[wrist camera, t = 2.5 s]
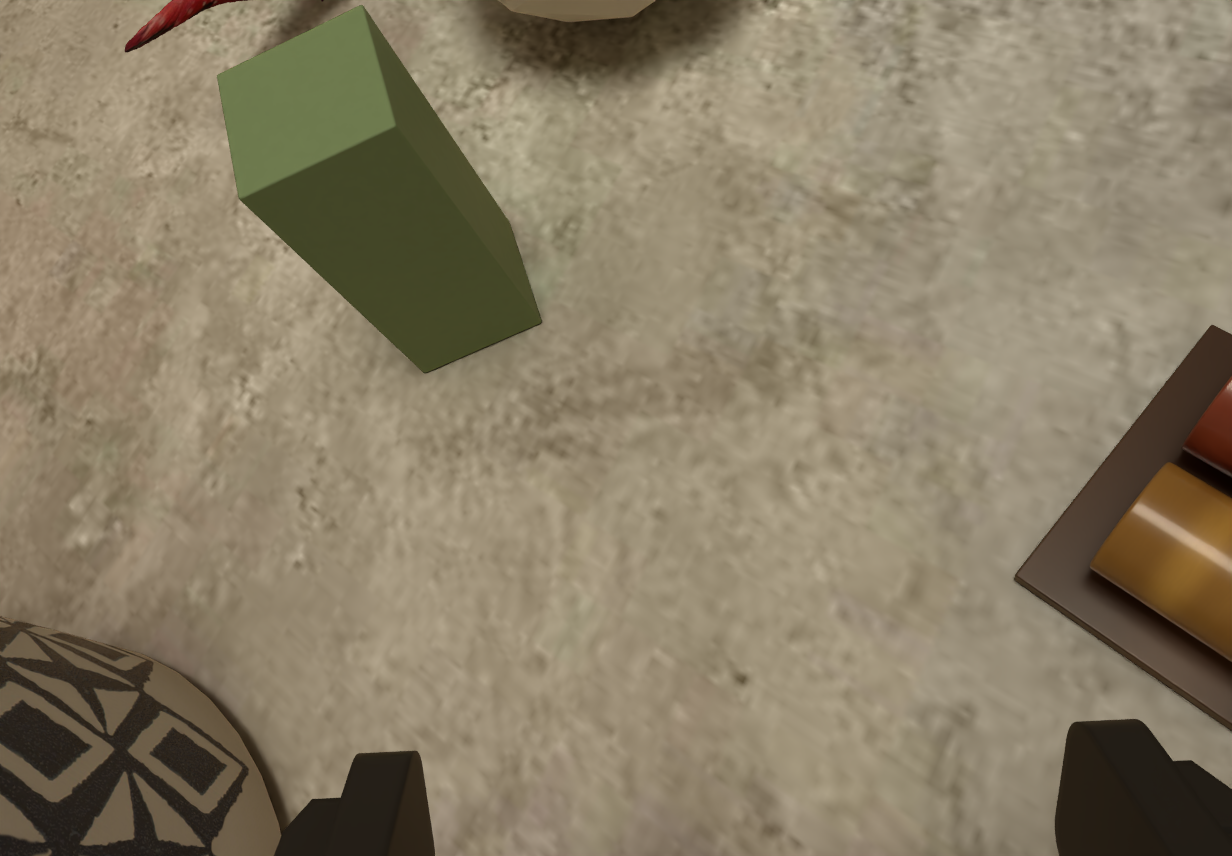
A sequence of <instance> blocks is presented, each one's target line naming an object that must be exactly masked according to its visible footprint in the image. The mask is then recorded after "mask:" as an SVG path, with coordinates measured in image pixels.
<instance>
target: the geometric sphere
mask: <svg viewBox="0 0 1232 856" xmlns="http://www.w3.org/2000/svg"><path fill="white" fill-rule="evenodd" d="M498 1H499V2H501V3H502V4H503V5H504V6H506V7H507V8H508V9H509V10H510V11H512V12H518V13H523V14H528V15H533V16H538V17H544V18H549V19H554V20H559V21H564V22H578V21H590V20H602V19H613V18H625V17H633V16H634V15H636V14H637V13H639V12H640V11H641V10H643V9H644V8H646V7H647V6H648V5H650V4H651V3H653V2H654V1H655V0H498Z"/></svg>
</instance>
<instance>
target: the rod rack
mask: <svg viewBox="0 0 1232 856" xmlns="http://www.w3.org/2000/svg"><path fill="white" fill-rule="evenodd" d="M1014 580H1015V581H1017V582H1018V583H1020V584H1021V585H1022V586H1024V587H1025V588H1027V589H1028V590H1030V591H1031V592H1033V593H1034V594H1035V595H1037V596H1038V597H1040V598H1041V599H1043V600H1044V601H1046V602H1047V603H1048V604H1050V605H1051V606H1053V607H1054V608H1056V609H1057V610H1058V611H1060V612H1061V613H1063V614H1064V615H1066V616H1067V617H1069V618H1070V619H1071V620H1073V621H1074V622H1076V623H1077V624H1079V625H1080V626H1082V627H1083V628H1084V629H1086V630H1087V631H1089V632H1090V633H1092V634H1093V635H1095V636H1096V637H1097V638H1099V639H1100V640H1102V641H1103V642H1105V643H1106V644H1108V645H1109V646H1110V647H1112V648H1113V649H1115V650H1116V651H1118V652H1119V653H1121V654H1122V655H1123V656H1125V657H1126V658H1128V659H1129V660H1131V661H1132V662H1134V663H1135V664H1136V665H1138V666H1139V667H1141V668H1142V669H1144V670H1145V671H1147V672H1148V673H1149V674H1151V675H1152V676H1154V677H1155V678H1157V679H1158V680H1160V681H1161V682H1162V683H1164V684H1165V685H1167V686H1168V687H1170V688H1171V689H1172V690H1174V691H1175V692H1177V693H1178V694H1180V695H1181V696H1183V697H1184V698H1185V699H1187V700H1188V701H1190V702H1191V703H1193V704H1194V705H1196V706H1197V707H1198V708H1200V709H1201V710H1203V711H1204V712H1206V713H1207V714H1209V715H1210V716H1211V717H1213V718H1214V719H1216V720H1217V721H1219V722H1220V723H1222V724H1223V725H1224V726H1226V727H1227V728H1229V729H1230V730H1232V335H1231V334H1230V333H1228V332H1226V331H1224V330H1222V329H1220V328H1218V327H1216V326H1214V325H1211V326H1210V327H1209V328H1208V330H1207V331H1206V332H1205V333H1204V335H1203V336H1202V337H1201V339H1200V340H1199V341H1198V342H1197V344H1196V345H1195V346H1194V347H1193V349H1192V350H1191V351H1190V353H1189V354H1188V355H1187V356H1186V358H1185V359H1184V360H1183V362H1182V363H1181V364H1180V365H1179V367H1178V368H1177V369H1176V370H1175V372H1174V373H1173V374H1172V376H1171V377H1170V378H1169V379H1168V381H1167V382H1166V383H1165V384H1164V386H1163V387H1162V388H1161V390H1160V391H1159V392H1158V393H1157V395H1156V396H1155V397H1154V398H1153V400H1152V401H1151V402H1150V404H1149V405H1148V406H1147V407H1146V409H1145V410H1144V411H1143V412H1142V414H1141V415H1140V416H1139V418H1138V419H1137V420H1136V421H1135V423H1134V424H1133V425H1132V426H1131V428H1130V429H1129V430H1128V432H1127V433H1126V434H1125V435H1124V437H1123V438H1122V439H1121V440H1120V442H1119V443H1118V444H1117V446H1116V447H1115V448H1114V449H1113V451H1112V452H1111V453H1110V454H1109V456H1108V457H1107V458H1106V460H1105V461H1104V462H1103V463H1102V465H1101V466H1100V467H1099V468H1098V470H1097V471H1096V472H1095V474H1094V475H1093V476H1092V477H1091V479H1090V480H1089V481H1088V482H1087V484H1086V485H1085V486H1084V488H1083V489H1082V490H1081V491H1080V493H1079V494H1078V495H1077V496H1076V498H1075V499H1074V500H1073V502H1072V503H1071V504H1070V505H1069V507H1068V508H1067V509H1066V510H1065V512H1064V513H1063V514H1062V516H1061V517H1060V518H1059V519H1058V521H1057V522H1056V523H1055V524H1054V526H1053V527H1052V528H1051V530H1050V531H1049V532H1048V533H1047V535H1046V536H1045V537H1044V538H1043V540H1042V541H1041V542H1040V544H1039V545H1038V546H1037V547H1036V549H1035V550H1034V551H1033V552H1032V554H1031V555H1030V556H1029V558H1028V559H1027V560H1026V561H1025V563H1024V564H1023V565H1022V566H1021V568H1020V569H1019V570H1018V572H1017V573H1016V574H1015V578H1014Z"/></svg>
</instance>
